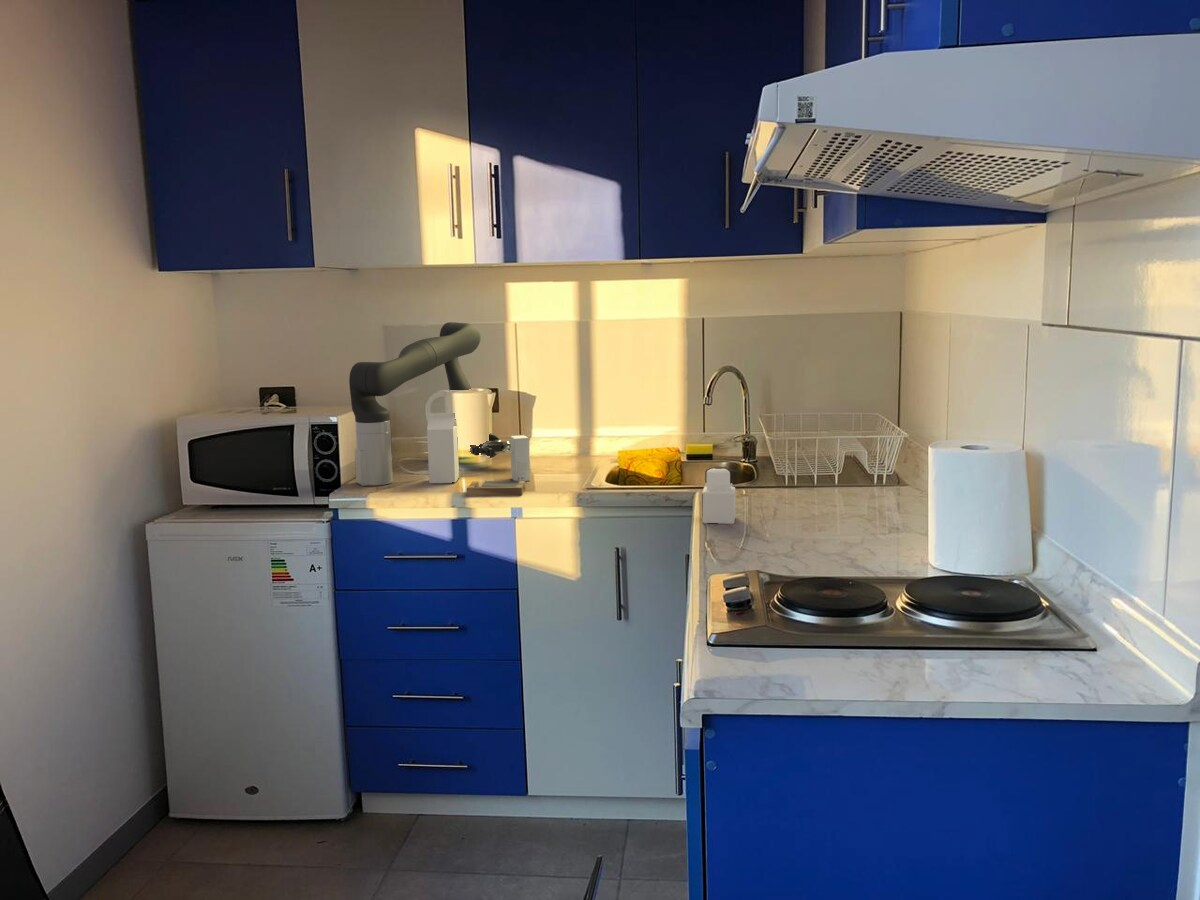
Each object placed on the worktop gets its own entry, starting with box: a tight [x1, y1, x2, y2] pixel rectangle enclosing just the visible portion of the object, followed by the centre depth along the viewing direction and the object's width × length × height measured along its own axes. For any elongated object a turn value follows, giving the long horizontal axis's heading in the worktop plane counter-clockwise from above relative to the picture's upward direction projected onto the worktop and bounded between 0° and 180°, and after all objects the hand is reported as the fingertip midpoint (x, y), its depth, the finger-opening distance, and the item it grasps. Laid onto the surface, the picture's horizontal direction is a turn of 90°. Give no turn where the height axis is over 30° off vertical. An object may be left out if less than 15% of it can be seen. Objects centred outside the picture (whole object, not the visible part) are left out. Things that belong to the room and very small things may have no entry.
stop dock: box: [466, 480, 526, 497], centre depth 278 cm, size 18×14×2 cm
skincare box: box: [509, 435, 531, 482], centre depth 290 cm, size 6×4×12 cm
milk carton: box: [426, 412, 460, 484], centre depth 288 cm, size 7×7×19 cm
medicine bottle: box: [701, 466, 736, 525], centre depth 235 cm, size 7×7×12 cm
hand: (504, 451), depth 299 cm, fingers open, 8 cm apart
